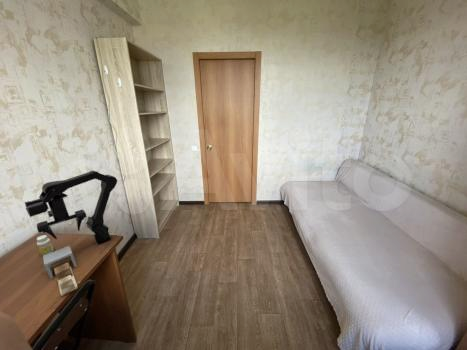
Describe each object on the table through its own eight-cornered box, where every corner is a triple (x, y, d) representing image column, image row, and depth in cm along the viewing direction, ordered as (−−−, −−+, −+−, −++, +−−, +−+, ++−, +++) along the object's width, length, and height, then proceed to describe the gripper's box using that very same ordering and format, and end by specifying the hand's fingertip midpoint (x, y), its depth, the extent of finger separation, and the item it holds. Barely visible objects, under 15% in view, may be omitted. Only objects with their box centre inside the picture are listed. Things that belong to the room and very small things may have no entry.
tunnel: (74, 258, 104) (69, 245, 101) (77, 266, 98) (72, 252, 96) (48, 269, 97) (42, 256, 94) (50, 278, 92) (44, 264, 89)
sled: (70, 267, 97) (67, 257, 95) (78, 288, 86) (73, 277, 84) (56, 274, 94) (52, 263, 92) (61, 297, 82) (56, 285, 80)
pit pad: (72, 253, 107) (71, 252, 107) (72, 255, 106) (72, 255, 106) (47, 263, 101) (47, 263, 101) (47, 266, 99) (47, 265, 99)
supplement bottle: (51, 254, 107) (44, 239, 104) (38, 256, 106) (32, 241, 103) (56, 247, 112) (50, 233, 109) (44, 250, 111) (38, 235, 108)
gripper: (78, 196, 110) (86, 221, 115) (31, 209, 97) (42, 236, 102) (82, 202, 102) (90, 229, 107) (32, 217, 90) (44, 246, 95)
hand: (67, 234), depth 103 cm, fingers open, 9 cm apart
